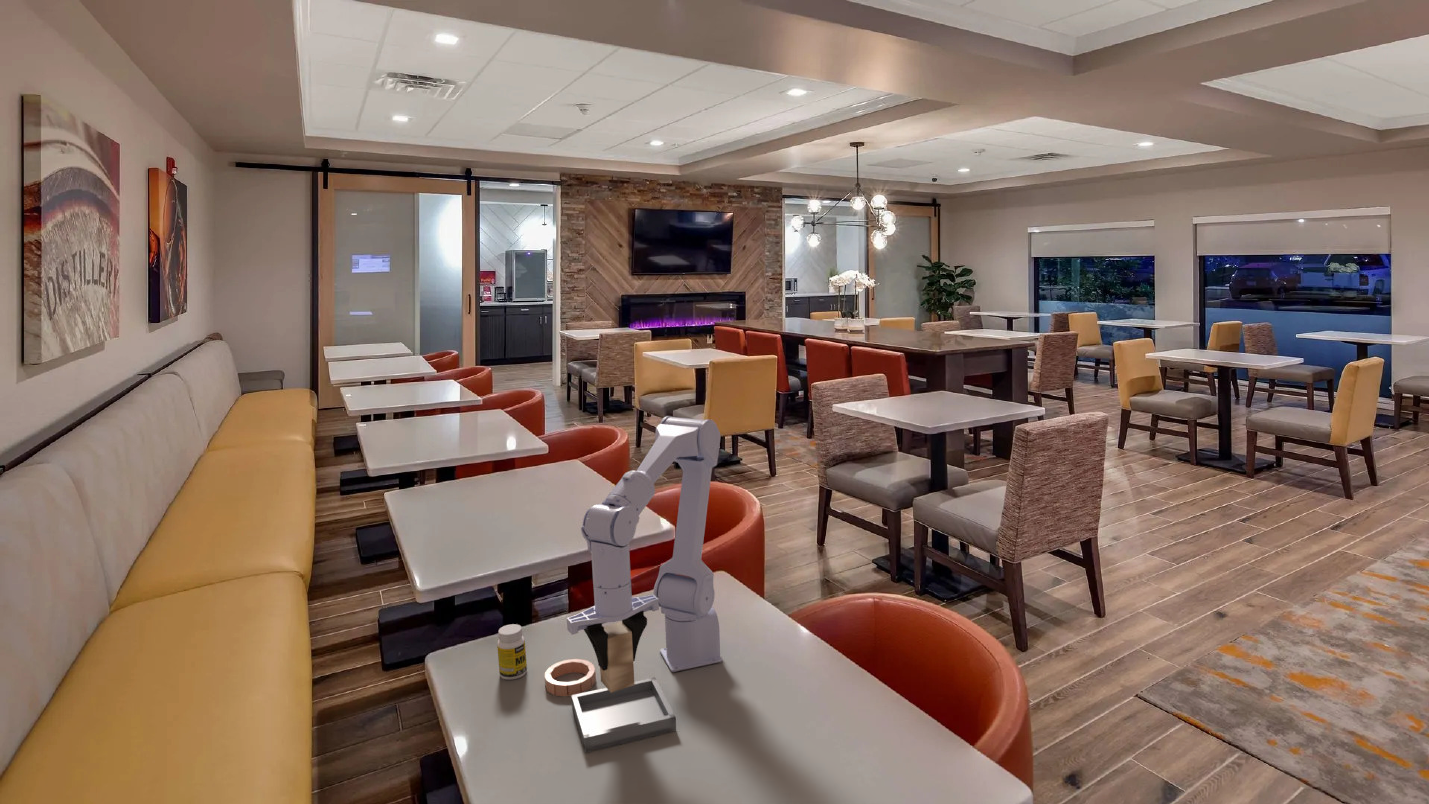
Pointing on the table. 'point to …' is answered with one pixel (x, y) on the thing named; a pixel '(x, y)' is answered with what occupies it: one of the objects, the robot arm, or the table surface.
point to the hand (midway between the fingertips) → (616, 663)
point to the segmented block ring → (573, 686)
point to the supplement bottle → (511, 652)
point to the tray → (622, 715)
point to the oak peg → (618, 658)
